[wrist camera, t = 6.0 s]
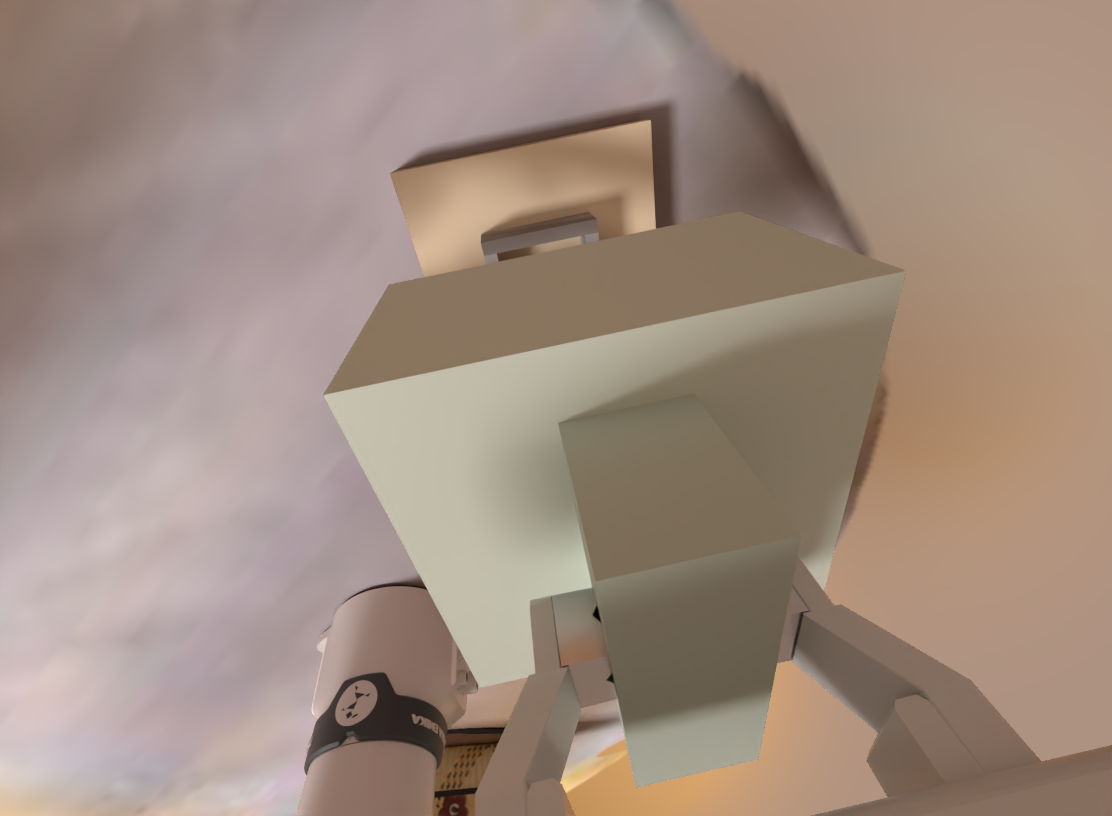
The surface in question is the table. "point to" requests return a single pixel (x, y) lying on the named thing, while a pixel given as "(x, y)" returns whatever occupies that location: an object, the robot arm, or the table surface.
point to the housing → (628, 455)
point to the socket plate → (529, 197)
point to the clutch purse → (461, 775)
